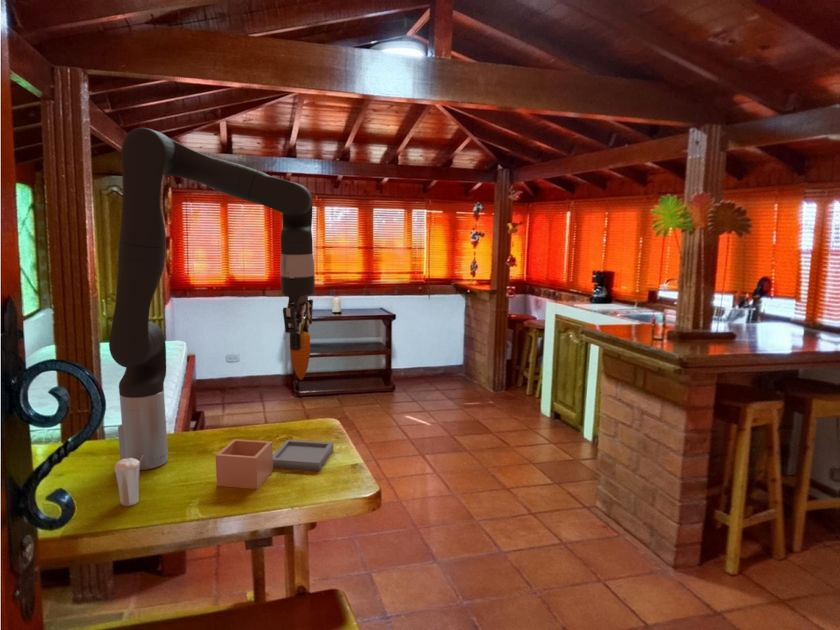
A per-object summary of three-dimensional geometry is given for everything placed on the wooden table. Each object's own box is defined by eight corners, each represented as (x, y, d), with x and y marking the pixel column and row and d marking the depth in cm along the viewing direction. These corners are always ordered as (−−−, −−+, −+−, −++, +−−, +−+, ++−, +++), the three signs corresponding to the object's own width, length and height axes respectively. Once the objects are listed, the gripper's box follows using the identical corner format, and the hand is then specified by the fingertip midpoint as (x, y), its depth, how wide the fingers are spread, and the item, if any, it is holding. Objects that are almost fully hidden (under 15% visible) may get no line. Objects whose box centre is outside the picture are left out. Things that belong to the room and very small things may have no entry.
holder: (216, 485, 126) (215, 455, 125) (235, 467, 135) (234, 439, 134) (257, 489, 125) (256, 458, 124) (273, 470, 134) (272, 441, 133)
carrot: (306, 383, 134) (305, 318, 131) (286, 381, 135) (284, 317, 132) (315, 377, 139) (313, 315, 136) (295, 376, 140) (293, 314, 137)
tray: (268, 467, 135) (268, 459, 135) (286, 447, 147) (286, 439, 147) (319, 471, 134) (319, 462, 134) (333, 450, 146) (333, 442, 145)
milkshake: (141, 507, 116) (138, 460, 115) (113, 508, 116) (109, 460, 114) (150, 496, 121) (147, 451, 119) (123, 497, 120) (119, 451, 119)
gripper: (292, 270, 140) (294, 339, 143) (269, 277, 126) (272, 353, 129) (323, 271, 139) (324, 341, 142) (303, 277, 125) (305, 355, 128)
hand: (299, 346), depth 135 cm, fingers closed on carrot, 5 cm apart
